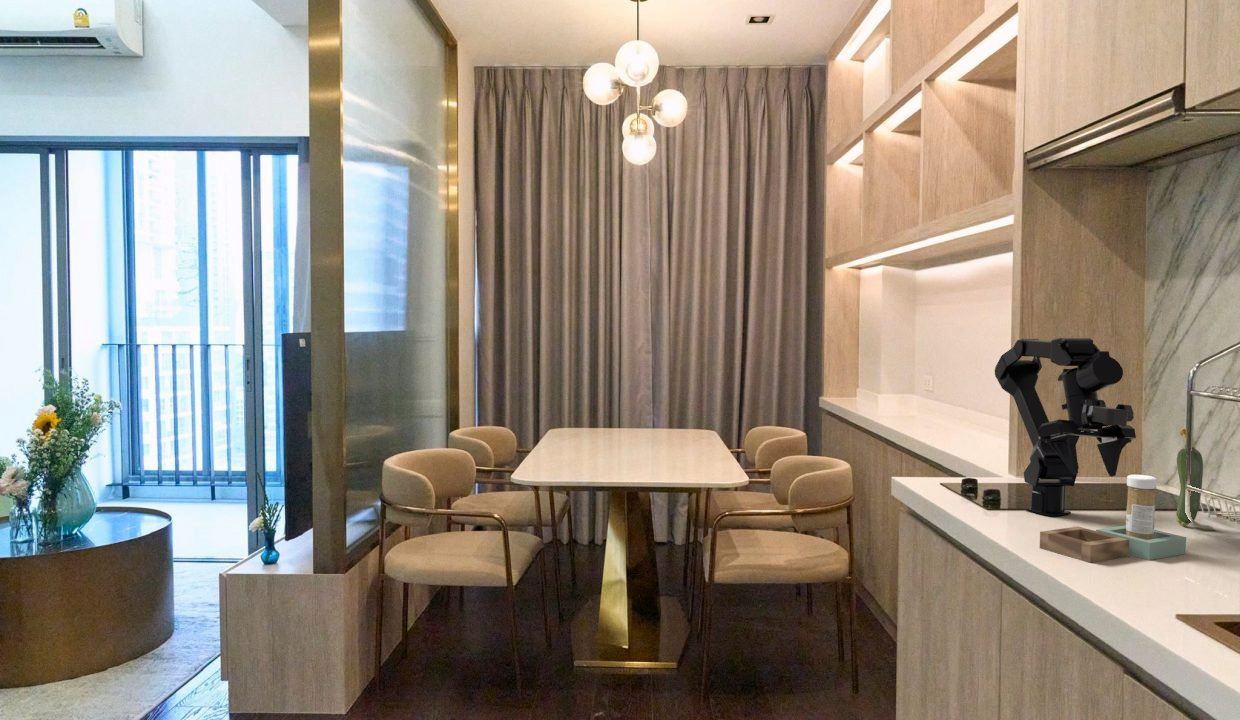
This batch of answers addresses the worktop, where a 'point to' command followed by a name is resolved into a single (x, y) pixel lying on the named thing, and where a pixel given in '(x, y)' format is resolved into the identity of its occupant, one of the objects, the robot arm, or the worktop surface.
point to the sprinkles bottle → (1141, 506)
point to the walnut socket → (1084, 544)
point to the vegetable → (1194, 480)
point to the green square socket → (1151, 543)
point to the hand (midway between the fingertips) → (1094, 475)
